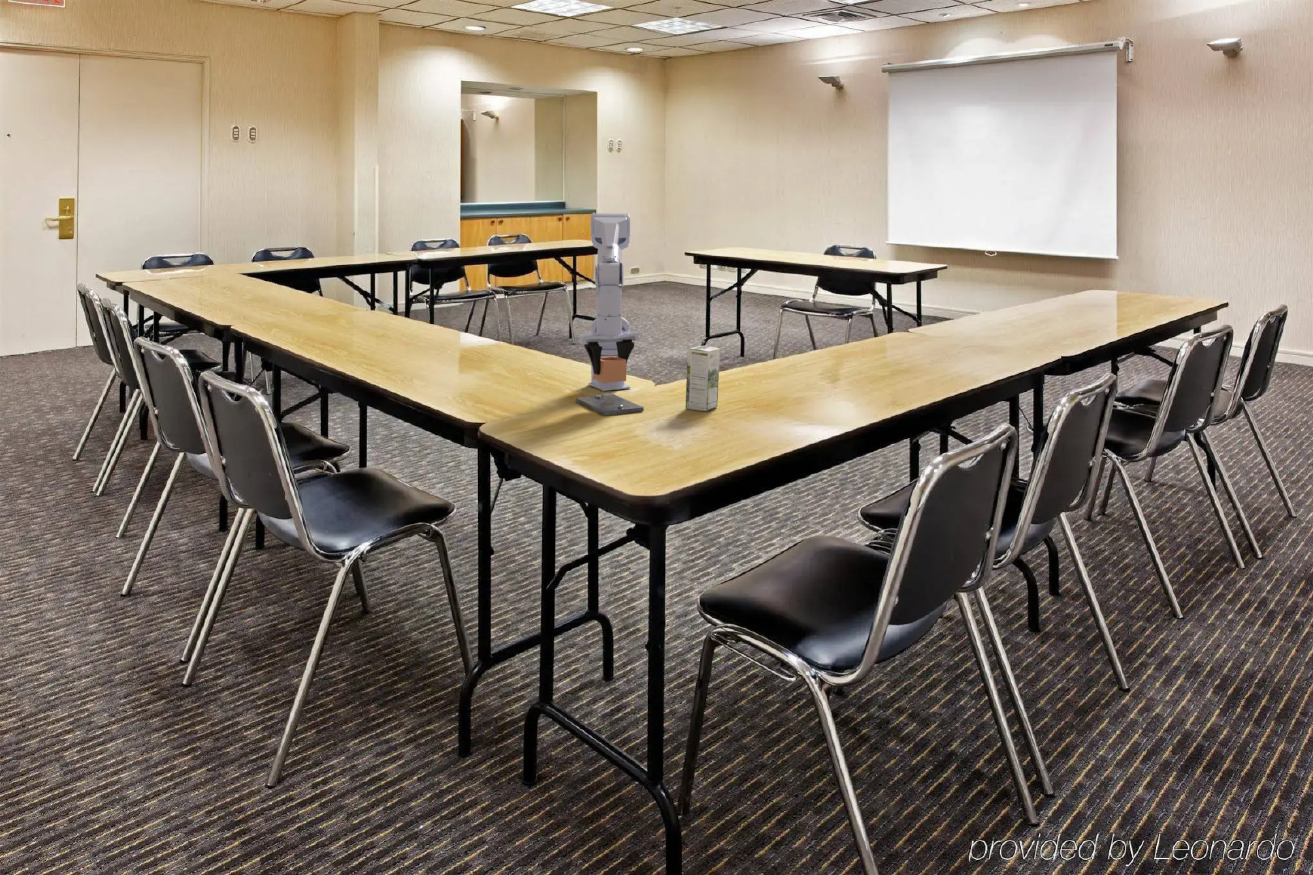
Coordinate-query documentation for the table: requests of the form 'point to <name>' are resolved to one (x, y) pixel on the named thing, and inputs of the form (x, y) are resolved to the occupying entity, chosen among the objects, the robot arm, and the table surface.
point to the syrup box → (702, 378)
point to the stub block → (609, 404)
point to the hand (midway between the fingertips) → (609, 372)
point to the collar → (611, 370)
